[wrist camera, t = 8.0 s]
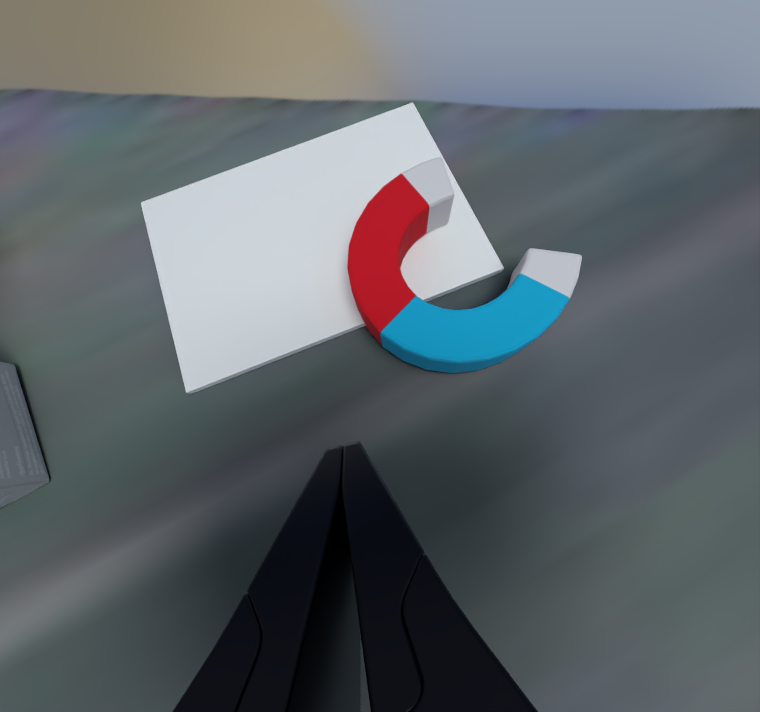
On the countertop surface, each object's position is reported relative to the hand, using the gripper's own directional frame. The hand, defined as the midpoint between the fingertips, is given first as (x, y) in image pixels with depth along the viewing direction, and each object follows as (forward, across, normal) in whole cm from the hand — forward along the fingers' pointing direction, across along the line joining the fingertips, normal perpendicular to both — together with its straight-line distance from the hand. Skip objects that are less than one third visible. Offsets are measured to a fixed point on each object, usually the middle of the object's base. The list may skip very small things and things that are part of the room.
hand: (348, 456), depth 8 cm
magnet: (+10, -1, +2) cm, 10 cm away
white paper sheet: (+17, +1, -2) cm, 17 cm away
